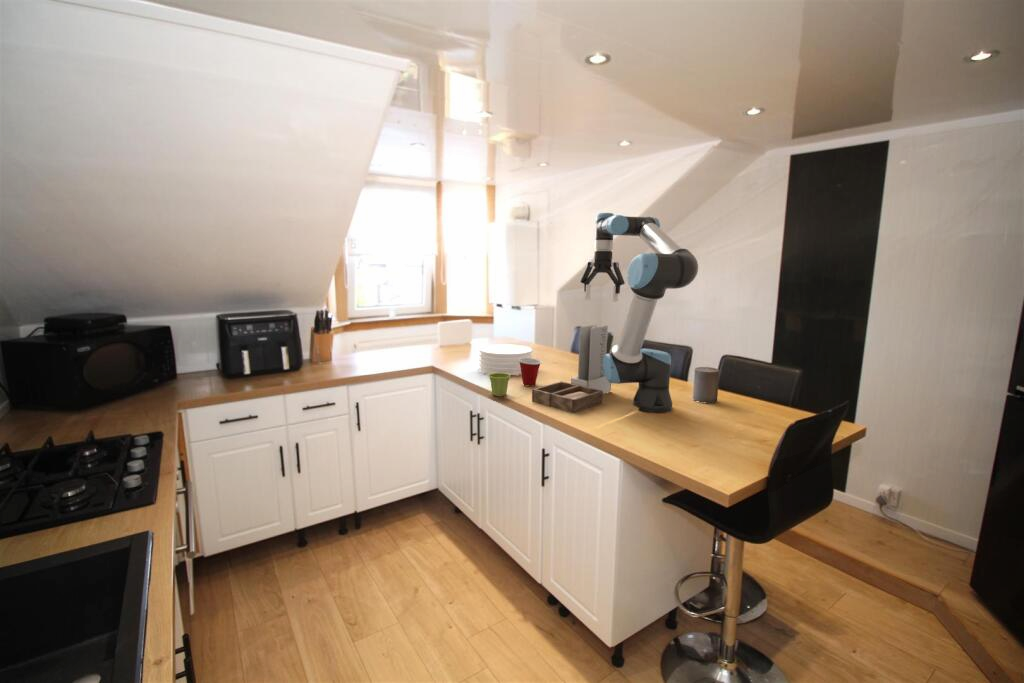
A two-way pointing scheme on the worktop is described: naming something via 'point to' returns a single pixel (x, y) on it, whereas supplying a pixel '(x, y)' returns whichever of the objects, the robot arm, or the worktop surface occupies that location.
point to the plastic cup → (529, 370)
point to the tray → (554, 398)
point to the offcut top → (575, 395)
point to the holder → (594, 383)
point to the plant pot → (499, 383)
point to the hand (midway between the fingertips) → (601, 300)
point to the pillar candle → (706, 384)
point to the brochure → (592, 352)
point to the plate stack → (503, 358)
